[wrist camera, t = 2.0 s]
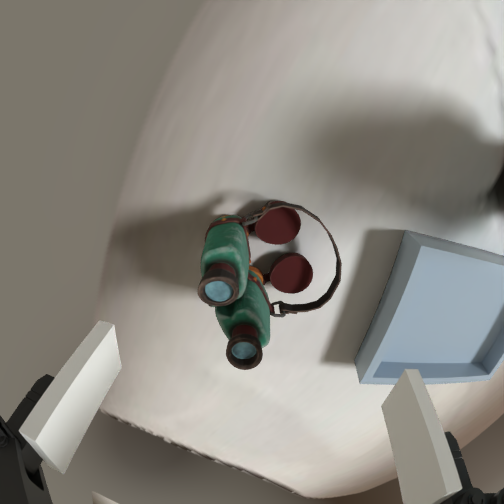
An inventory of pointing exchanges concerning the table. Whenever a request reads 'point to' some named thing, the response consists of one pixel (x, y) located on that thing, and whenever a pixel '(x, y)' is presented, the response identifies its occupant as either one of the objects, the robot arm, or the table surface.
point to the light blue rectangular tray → (437, 315)
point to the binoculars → (254, 277)
